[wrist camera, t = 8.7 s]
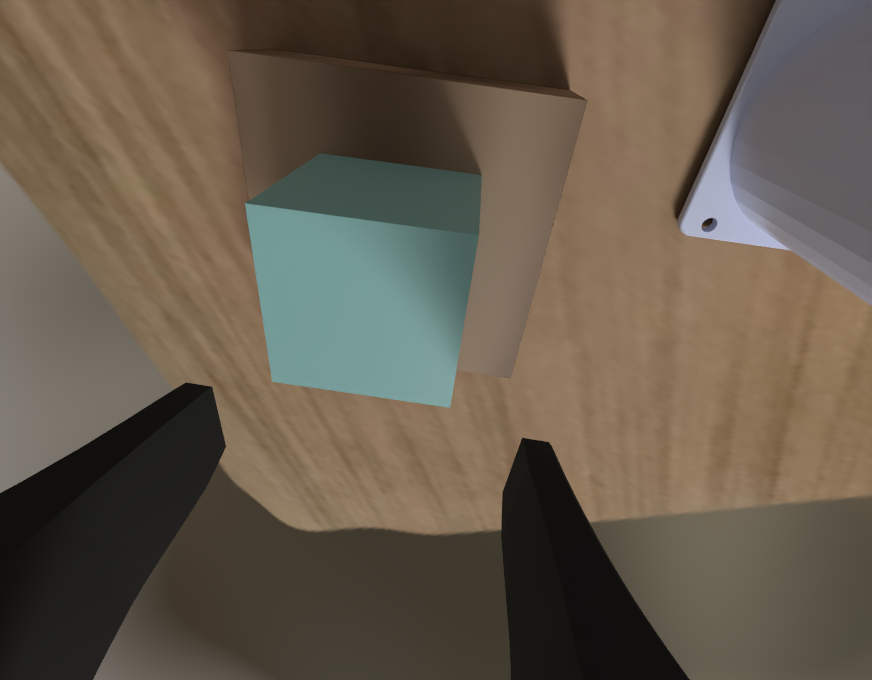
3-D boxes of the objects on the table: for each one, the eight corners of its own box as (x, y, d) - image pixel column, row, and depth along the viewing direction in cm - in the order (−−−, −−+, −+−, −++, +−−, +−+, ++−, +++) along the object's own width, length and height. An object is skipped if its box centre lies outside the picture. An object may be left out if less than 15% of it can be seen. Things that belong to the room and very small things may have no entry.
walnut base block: (570, 90, 14) (587, 100, 12) (507, 337, 20) (510, 378, 17) (272, 49, 14) (227, 50, 12) (295, 305, 20) (268, 342, 18)
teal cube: (481, 174, 13) (479, 235, 9) (459, 313, 16) (449, 407, 12) (320, 153, 13) (245, 203, 9) (327, 295, 16) (272, 381, 12)
